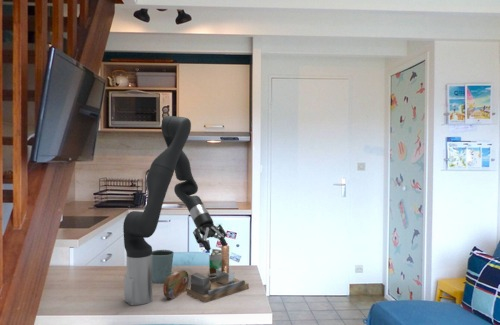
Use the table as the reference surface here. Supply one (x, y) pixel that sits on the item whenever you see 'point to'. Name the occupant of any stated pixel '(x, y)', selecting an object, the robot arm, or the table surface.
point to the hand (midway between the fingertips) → (217, 248)
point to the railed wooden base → (213, 287)
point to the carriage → (224, 268)
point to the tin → (175, 284)
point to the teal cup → (161, 265)
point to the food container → (214, 262)
